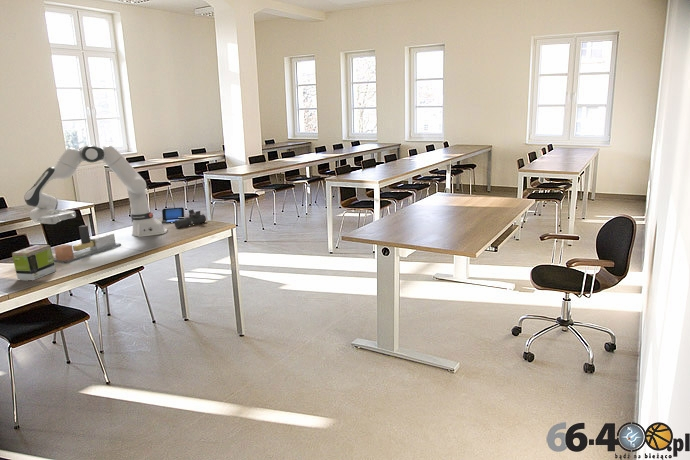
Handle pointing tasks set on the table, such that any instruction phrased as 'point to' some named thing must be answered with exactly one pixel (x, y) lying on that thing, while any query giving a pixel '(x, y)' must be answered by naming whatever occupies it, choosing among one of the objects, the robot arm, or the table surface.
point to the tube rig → (101, 244)
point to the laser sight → (190, 219)
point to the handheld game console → (172, 214)
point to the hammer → (84, 239)
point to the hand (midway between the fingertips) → (67, 217)
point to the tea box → (33, 262)
